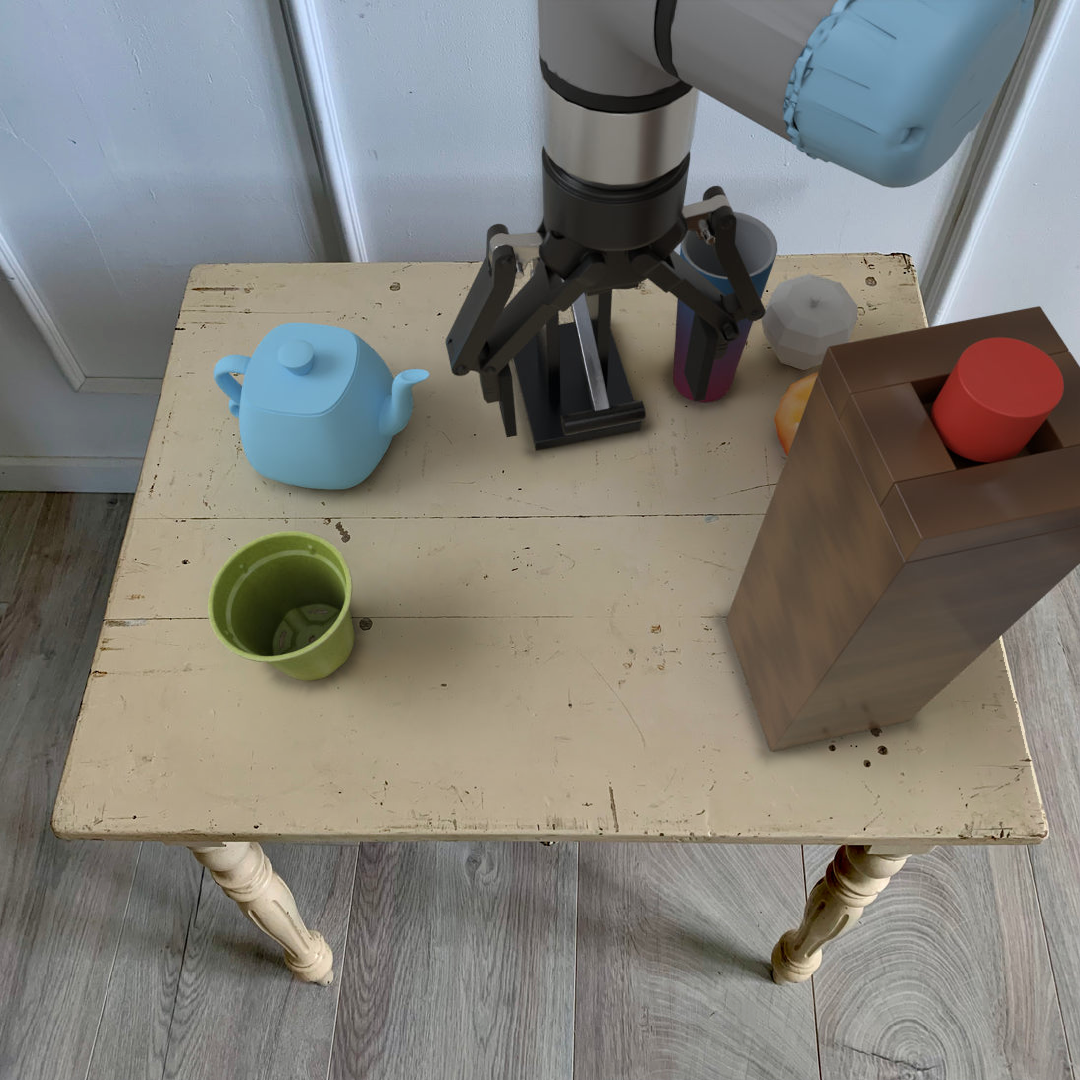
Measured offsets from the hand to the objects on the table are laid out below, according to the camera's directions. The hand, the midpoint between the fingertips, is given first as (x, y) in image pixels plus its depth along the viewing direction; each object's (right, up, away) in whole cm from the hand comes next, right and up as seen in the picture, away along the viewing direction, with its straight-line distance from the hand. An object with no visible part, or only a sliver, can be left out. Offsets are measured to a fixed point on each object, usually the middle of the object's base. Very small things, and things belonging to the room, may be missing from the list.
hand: (602, 403), depth 63 cm
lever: (-1, +5, +3) cm, 6 cm away
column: (+15, -19, 0) cm, 24 cm away
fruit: (+18, -2, +10) cm, 21 cm away
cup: (+10, +4, +13) cm, 17 cm away
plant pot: (-21, -17, +3) cm, 28 cm away
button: (+14, -5, -25) cm, 29 cm away
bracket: (-2, +4, +13) cm, 14 cm away
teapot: (-21, -1, +12) cm, 24 cm away
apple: (+18, +7, +15) cm, 24 cm away
